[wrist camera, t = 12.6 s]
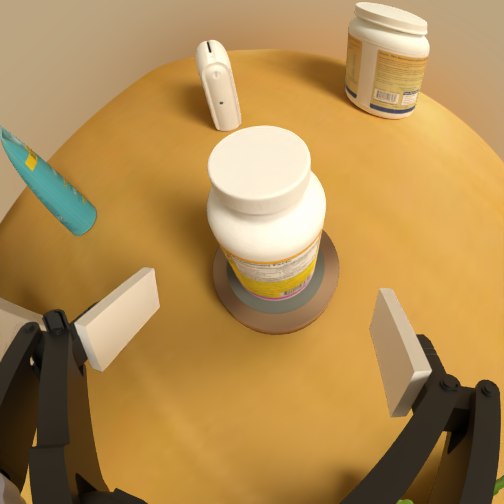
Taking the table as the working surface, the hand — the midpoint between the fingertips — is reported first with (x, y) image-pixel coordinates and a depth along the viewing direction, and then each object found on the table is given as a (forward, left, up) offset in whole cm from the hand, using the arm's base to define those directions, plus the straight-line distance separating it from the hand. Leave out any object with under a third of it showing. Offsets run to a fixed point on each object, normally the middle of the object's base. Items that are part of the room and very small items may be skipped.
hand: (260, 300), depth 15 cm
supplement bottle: (-4, +3, -7) cm, 9 cm away
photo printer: (-31, +8, -10) cm, 34 cm away
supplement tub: (-23, +32, -10) cm, 41 cm away
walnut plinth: (-4, +3, -10) cm, 11 cm away
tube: (-23, -17, -10) cm, 31 cm away
